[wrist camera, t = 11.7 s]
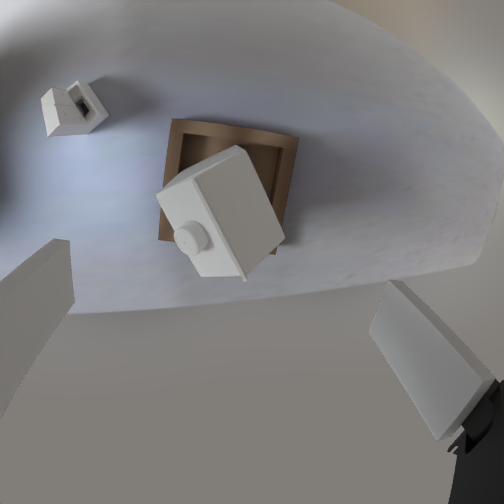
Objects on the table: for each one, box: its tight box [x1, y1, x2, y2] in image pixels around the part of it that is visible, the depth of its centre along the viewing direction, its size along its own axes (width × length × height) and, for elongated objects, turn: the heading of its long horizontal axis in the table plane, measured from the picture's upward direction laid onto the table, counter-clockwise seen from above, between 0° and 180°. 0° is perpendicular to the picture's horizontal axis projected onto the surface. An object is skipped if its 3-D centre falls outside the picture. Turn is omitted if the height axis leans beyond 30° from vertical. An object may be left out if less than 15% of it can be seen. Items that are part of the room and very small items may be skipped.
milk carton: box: [156, 145, 285, 283], centre depth 27 cm, size 7×7×19 cm
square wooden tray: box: [158, 118, 299, 255], centre depth 35 cm, size 14×14×3 cm
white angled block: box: [41, 80, 109, 137], centre depth 27 cm, size 4×10×9 cm
